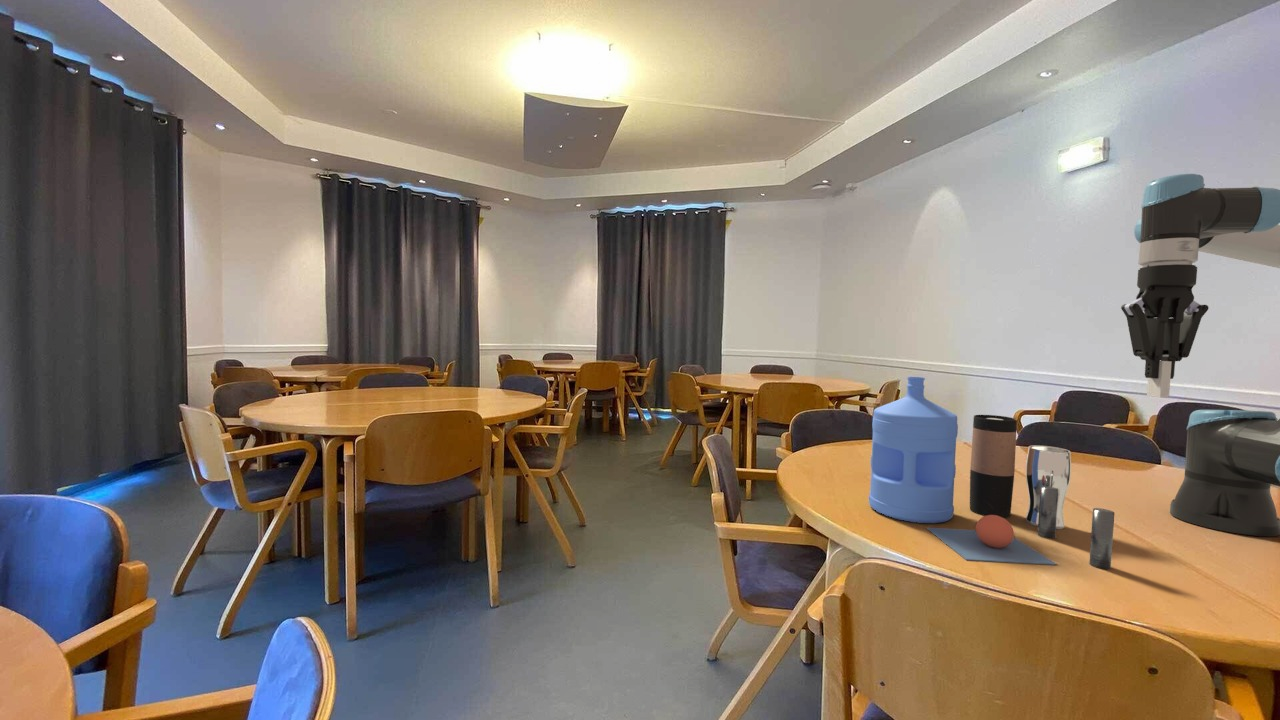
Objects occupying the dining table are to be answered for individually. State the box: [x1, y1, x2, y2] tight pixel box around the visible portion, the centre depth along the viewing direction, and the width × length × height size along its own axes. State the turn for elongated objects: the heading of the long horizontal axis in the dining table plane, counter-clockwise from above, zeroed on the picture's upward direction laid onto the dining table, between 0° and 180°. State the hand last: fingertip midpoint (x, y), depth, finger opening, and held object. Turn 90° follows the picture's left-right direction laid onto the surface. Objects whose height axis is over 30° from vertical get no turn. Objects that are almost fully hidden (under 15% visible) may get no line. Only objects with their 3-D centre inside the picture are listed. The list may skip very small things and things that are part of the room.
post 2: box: [1089, 507, 1115, 570], centre depth 85 cm, size 3×3×9 cm
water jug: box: [868, 376, 959, 524], centre depth 109 cm, size 16×16×28 cm
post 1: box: [1037, 486, 1058, 540], centre depth 97 cm, size 3×3×9 cm
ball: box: [975, 515, 1015, 548], centre depth 92 cm, size 6×6×6 cm
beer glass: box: [1025, 444, 1072, 531], centre depth 104 cm, size 7×7×15 cm
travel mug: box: [969, 414, 1018, 519], centre depth 110 cm, size 8×8×20 cm
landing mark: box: [926, 527, 1058, 566], centre depth 93 cm, size 14×14×1 cm
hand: (1157, 396), depth 96 cm, fingers closed
